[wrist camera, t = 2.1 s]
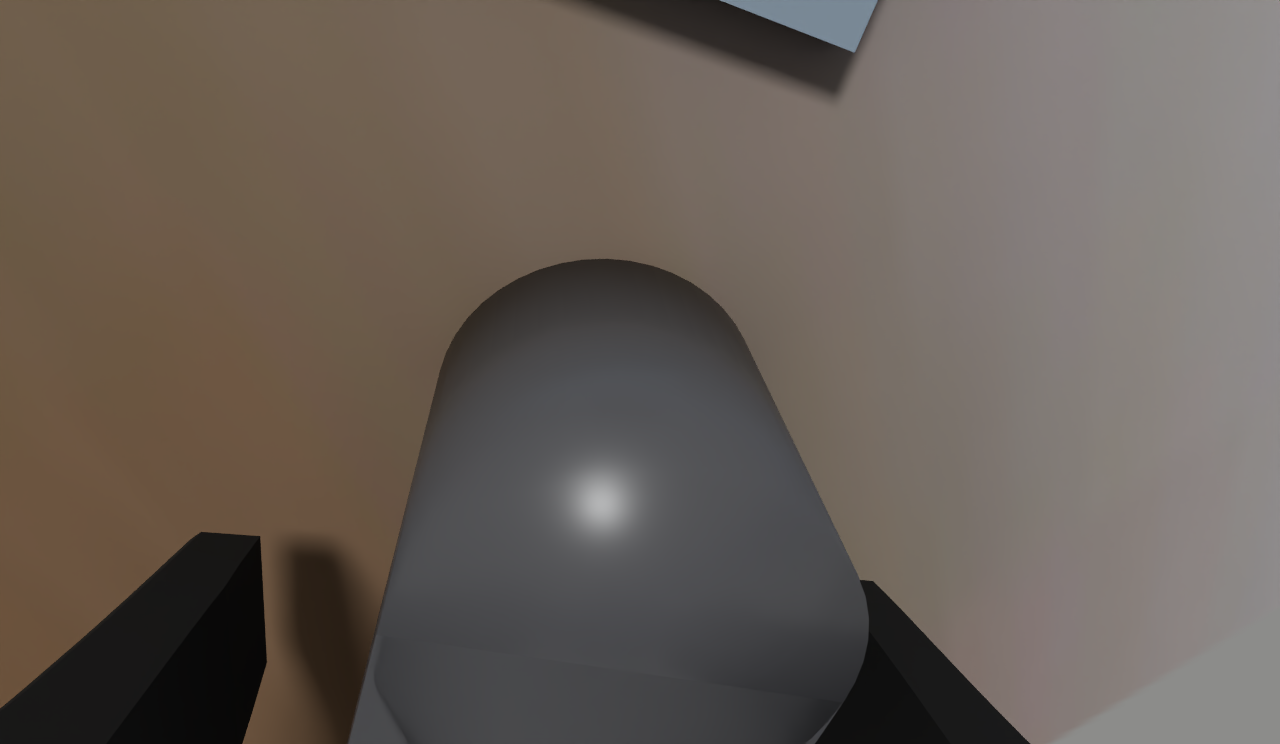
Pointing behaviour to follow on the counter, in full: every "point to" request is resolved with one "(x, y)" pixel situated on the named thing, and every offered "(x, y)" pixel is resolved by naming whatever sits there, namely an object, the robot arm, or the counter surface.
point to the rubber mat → (817, 17)
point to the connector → (609, 535)
